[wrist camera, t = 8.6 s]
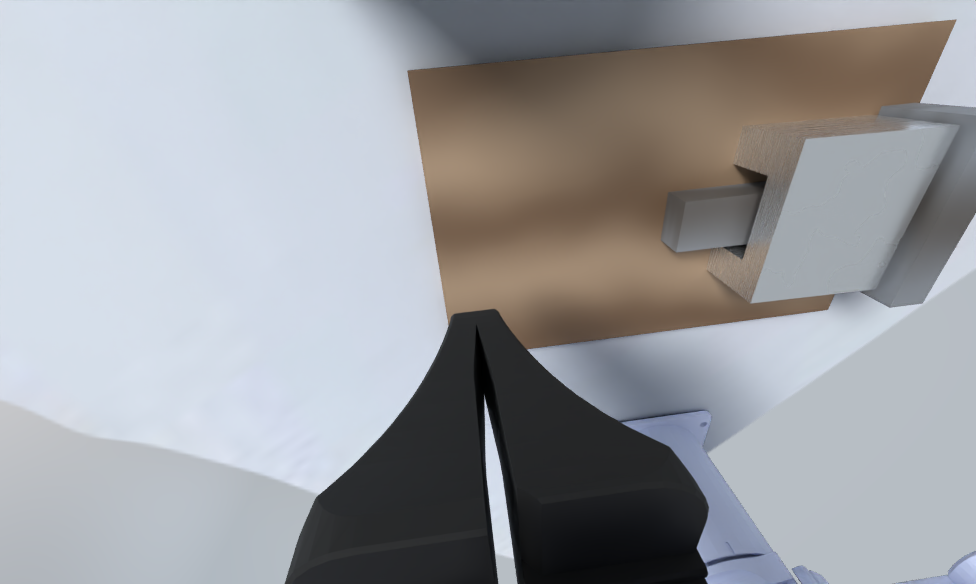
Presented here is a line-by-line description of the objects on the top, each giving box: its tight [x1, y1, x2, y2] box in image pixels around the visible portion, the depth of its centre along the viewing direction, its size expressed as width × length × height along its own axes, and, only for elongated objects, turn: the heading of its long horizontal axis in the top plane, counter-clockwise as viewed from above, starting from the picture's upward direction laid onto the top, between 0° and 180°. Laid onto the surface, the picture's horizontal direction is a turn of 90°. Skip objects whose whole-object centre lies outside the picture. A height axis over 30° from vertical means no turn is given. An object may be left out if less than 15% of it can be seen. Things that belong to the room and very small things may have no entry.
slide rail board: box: [408, 20, 976, 349], centre depth 17 cm, size 14×22×5 cm, turn 94°
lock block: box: [707, 115, 960, 303], centre depth 17 cm, size 7×6×3 cm
